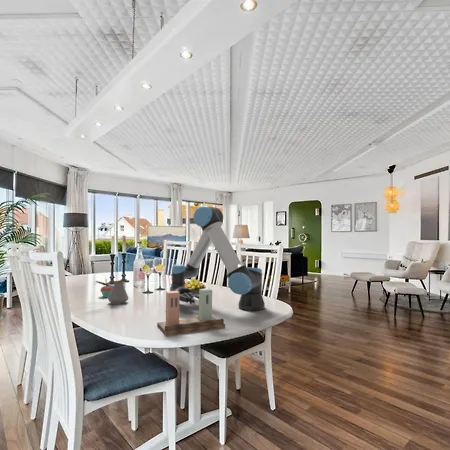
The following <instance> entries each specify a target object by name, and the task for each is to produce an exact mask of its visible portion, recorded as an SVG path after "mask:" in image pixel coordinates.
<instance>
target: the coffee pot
mask: <svg viewBox="0 0 450 450" xmlns="http://www.w3.org/2000/svg"><path fill="white" fill-rule="evenodd" d="M97 284H100V285H102V286H110V287H112V288H113V289H112V292H111V294H110V296H109V297H107V298H108V302H109V303H111V304H112V305H123V304H125V303H126V302H127V301H128V300H129V295H128V293H127V290H126V288H125V286H124V284H125V281H124V280H115V281H113V284H114V285H111V284H108V283H107V284H106V282H101V281H98V280H95V282H94V285H97Z"/></svg>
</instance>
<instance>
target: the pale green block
mask: <svg viewBox="0 0 450 450" xmlns="http://www.w3.org/2000/svg"><path fill="white" fill-rule="evenodd" d="M198 293H199V305H198V318H199V319H200V320H201V321H206V320H212V317H213V289H211V288H199V289H198Z"/></svg>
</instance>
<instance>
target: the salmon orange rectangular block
mask: <svg viewBox="0 0 450 450" xmlns="http://www.w3.org/2000/svg"><path fill="white" fill-rule="evenodd" d="M165 292H166V293H165V294H166V295H165V322H166V324H167V325H174V324H179V320H180V302H181V301H180V292H178V291H170V290H169V291H165Z"/></svg>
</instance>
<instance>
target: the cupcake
mask: <svg viewBox="0 0 450 450" xmlns="http://www.w3.org/2000/svg"><path fill="white" fill-rule="evenodd" d="M104 279H105V283H106V284H108V282H107V281H108V280H107V278H104ZM112 289H113V288H112V287H110V286H106V285H103V286H102V287H101V288H100V293H101V294H102V297H103V298H109V296H110V294H111V292H112Z"/></svg>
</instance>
